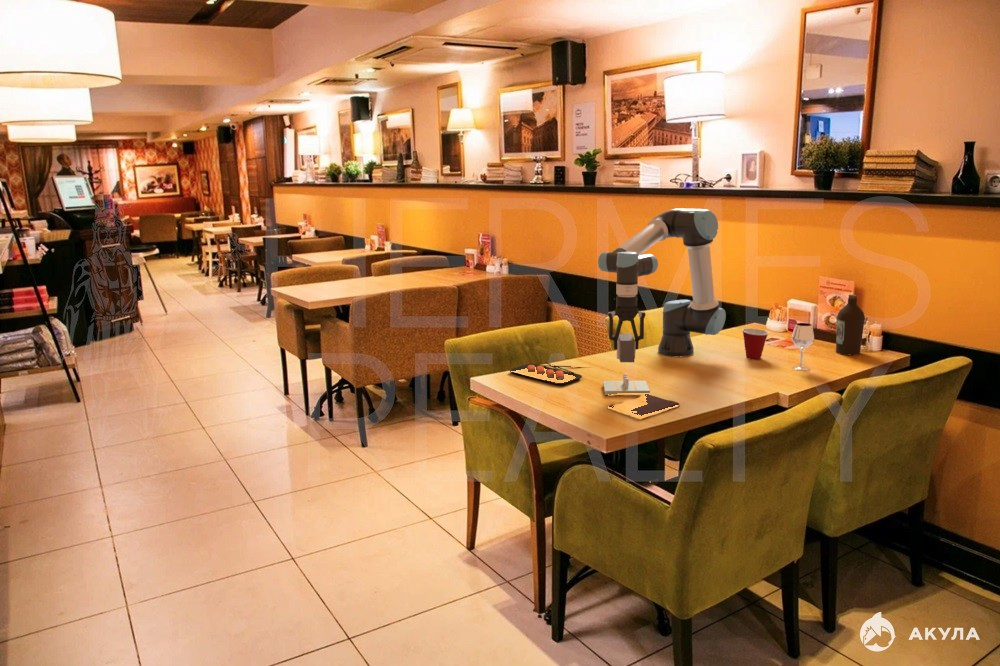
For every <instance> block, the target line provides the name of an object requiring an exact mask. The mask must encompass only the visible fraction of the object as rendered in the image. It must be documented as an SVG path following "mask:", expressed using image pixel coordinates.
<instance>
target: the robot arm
mask: <svg viewBox="0 0 1000 666" xmlns="http://www.w3.org/2000/svg"><path fill="white" fill-rule="evenodd" d="M718 230H719V222H718V219H717V216H716V214H715V213H714V212H713V211H712V210H710V209H704V208H674V209H673V208H672V209H669V210H666V211H664V212H661V214H658V215H657V216H655V217H653V218H652V219H650V220H649V221H648V223H647V226H645V227H644V228H643V229H641V230H640V231H638V232H637V233H635V234H634V235H632V237H630V238H629V239H628V240H626V241H625V242H623V243H622V244H621V245H619V246H618V247H617V248H616V249H614V250H612V251H611V252H610V251H604V252H601V253H599V256H598V258H597V259H598V260H597V264H598V268H599V270H601V271H602V272H605V273H612V274H616V284H615V285H616V288H615V289H616V293H615V294H616V297H615V301H616V303H615V304H616V305H615V309H614V310H613V311H608V312H607V316H608V320H609V321H608V322H609V323H608V339H609V340H612V341H613V350H616V359H617V360H619V349H620V341H619V340H618V337H619V334H621V329H622V326H623V323H624V322H626V321H627V322H630V325H631V329H632V333H633V334H632V335H633V338H634V340H635V350H639V342H640V341H641V340H644V338H645V317H646V312H645V311H641V310H639V308H638V296H637V295H638V280H639V277H644V276H649V275H651V274H654V273H655V272H656V271H657V270H658V267H659V260H658V259H657V257H656V256H655V255H654V254H651V253H645V252H647V251H648V250H649V249H650V248H652V247H653V246H655V244H656V243H658V242H663V241H664V240H666V239H668V238H669V239H670V238H678V239H679V238H681V239H682V242H683V243H682V244H683V246H685V248H687V254H688V264H689V273H690V285H691V291H692V292H691V293H692V300H690V299H675V300H670V301H667V302H665V303H663V308H662V309H663V310H662V336H661V338H660V341H659V344H658V347H657V349H658V350H657V351H658V354H660V355H662V356H666V357H673V356H678V357H679V358H680V356H683V357H689V356H692V355H694V351H695V350H694V345H693V341H692V338H691V333H694V334H695V333H698V334H701V335H703V334H704V335H705V336H706V335H707V336H708V335H709V336H710V335H711V336H716V335H718V334H719V333H720V332H721V331H722V329H723V327H724V325H725V321H726V318H727V317H726V316H727V315H726V314H727V313H726V310H725V309H724V308H722V307H720V304H719V300H718V299H716V298H715V290H714V278H713V266H712V258H711V247H710V245H711V244H712V243H713V242H714V239H715V238H716V236H717V235H718ZM615 315H616V316H617V318H618V321H617V325H616V329H615V332H614V318H615ZM637 316H638V317H639V335H638V331H637V328H636V322H635V318H636V317H637ZM613 333H614V334H613ZM635 359H636V354H635V355H634V360H635Z"/></svg>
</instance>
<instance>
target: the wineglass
mask: <svg viewBox="0 0 1000 666" xmlns="http://www.w3.org/2000/svg"><path fill="white" fill-rule="evenodd" d="M791 340H792V342H793V344H794V346H796V347H797V348H798V349H799V350H800V361H799V365H793V366H792V367H791V368H792V369H793V370H794V371H795V370H796V371H801V370H802V371H809V370H810V367H808V366H806V365H803V361H804V359H803V358H804V357H803V356H804V351H805V350H806V349H807V348H809V347H810V346H812V345H813V343H814V342H815V333H814V329H813V324H812V323H807V322H798V323H795V325H794V329H793V332H792V335H791Z"/></svg>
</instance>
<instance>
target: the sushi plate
mask: <svg viewBox="0 0 1000 666" xmlns="http://www.w3.org/2000/svg"><path fill="white" fill-rule="evenodd" d="M545 364H547V365H545ZM545 364H544V365H541V364H535V363H527V364H524V365H520V366H517V367H514V368H511V369H510V370H509V372H510V373H511V371H516V370H521V369H525V368H527V369H528V372H535V367H536V370H537V374H542V375H543V374H544V373H545V371H544V368H545V369H547V370H546V374H547V377H548V378H554V374H556V379H557V380H563V379H564V374H568V375H573V376H575V377H576V378H575V379H573V380H570V381H568V382H564V383H557V384H556V385H565V384H570V383H572V382H574V381H577V380H580V379H582V378H583V375H582V374H578V373H575V372H574V371H571V370H568V369H566V368H572V367H571V366H572V365H554V364H553V365H554V366H551V365H549V364H551V363H549V362H545ZM556 367H558V368H556ZM554 372H555V373H554ZM546 381H547V380H545V381H544V382H546ZM550 382H551V381H548V382H547V383H550ZM554 383H555V382H553V383H552V384H554Z"/></svg>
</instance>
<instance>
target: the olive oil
mask: <svg viewBox="0 0 1000 666" xmlns="http://www.w3.org/2000/svg"><path fill="white" fill-rule="evenodd" d="M857 303H858V295H856V294H848V298H847V303H846V305H844V306H843V307H842V308H841V309H840V310H839V311H838V313H837V316H836V334H835V335H836V337H835V338H836V339H835V340H836V341H835V343H836V344H835V352H836V353H837V354H839V353H840V355H843V354H851V355H850V356H854V355H853V354H858V355H860V354H861V350H862V349H861V348H862V340H863V333H864V328H865V321H866V316H865V313H864V311H863V310H862V309H861V307H860V306H859V305H858V304H857ZM859 353H860V354H859Z"/></svg>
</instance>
